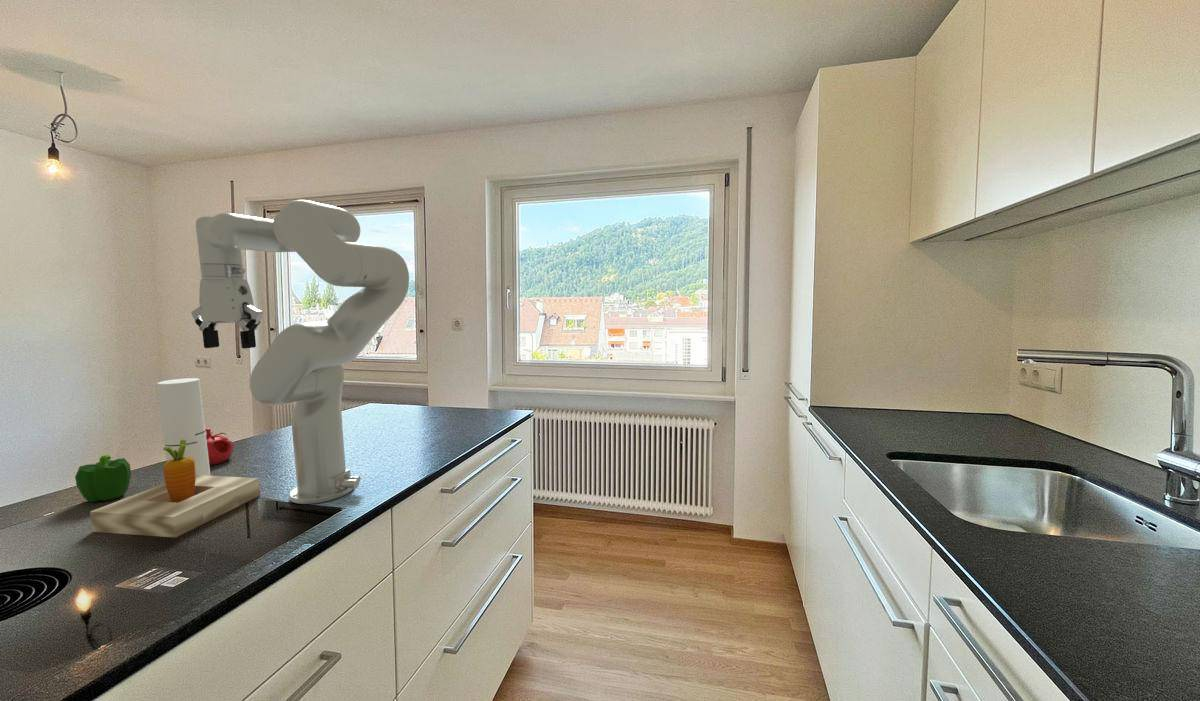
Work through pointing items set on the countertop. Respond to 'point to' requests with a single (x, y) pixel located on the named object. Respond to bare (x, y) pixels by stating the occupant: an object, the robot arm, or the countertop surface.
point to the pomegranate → (218, 447)
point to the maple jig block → (174, 507)
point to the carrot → (179, 474)
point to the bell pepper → (103, 479)
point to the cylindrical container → (184, 420)
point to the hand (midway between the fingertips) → (230, 347)
